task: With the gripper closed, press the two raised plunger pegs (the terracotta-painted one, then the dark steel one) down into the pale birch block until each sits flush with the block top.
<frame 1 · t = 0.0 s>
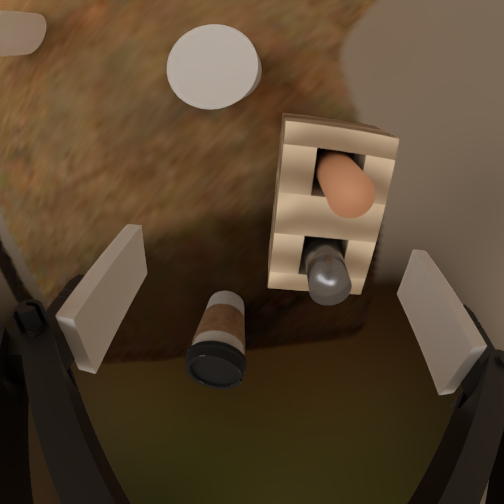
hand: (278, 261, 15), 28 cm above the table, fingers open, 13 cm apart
cup: (228, 70, 34), on the table
peg terracotta: (341, 179, 30), point 10 cm above the table, slide at 6.0 cm
peg steel: (324, 264, 35), point 11 cm above the table, slide at 6.0 cm
coffee cup: (226, 303, 53), on the table
cylindrical container: (31, 33, 30), on the table
birch block: (319, 190, 42), on the table
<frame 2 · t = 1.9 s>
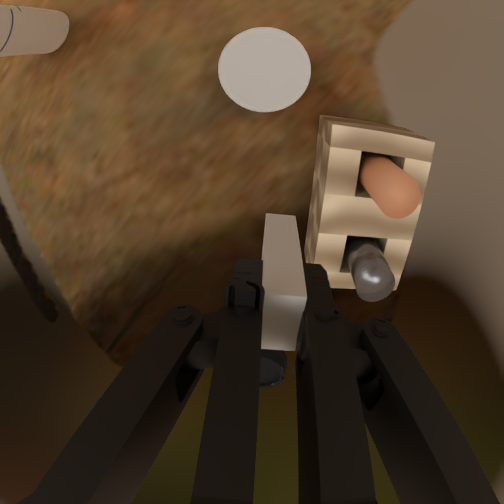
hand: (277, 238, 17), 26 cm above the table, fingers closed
cup: (266, 72, 35), on the table
peg terracotta: (384, 181, 30), point 11 cm above the table, slide at 6.0 cm
peg steel: (366, 262, 35), point 11 cm above the table, slide at 6.0 cm
coffee cup: (260, 303, 53), on the table
cylindrical container: (52, 32, 30), on the table
birch block: (354, 190, 42), on the table
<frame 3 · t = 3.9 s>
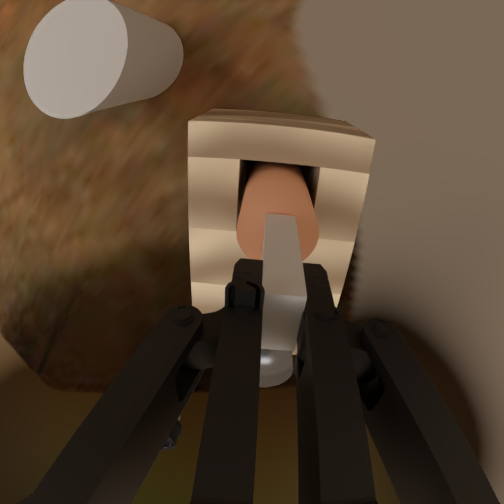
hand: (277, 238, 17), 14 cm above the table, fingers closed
cup: (142, 59, 24), on the table
peg terracotta: (276, 202, 21), point 9 cm above the table, slide at 4.9 cm, touching gripper
peg steel: (263, 325, 25), point 11 cm above the table, slide at 6.0 cm
birch block: (270, 213, 31), on the table
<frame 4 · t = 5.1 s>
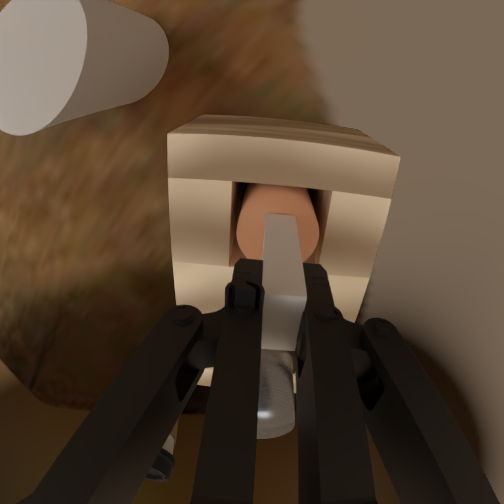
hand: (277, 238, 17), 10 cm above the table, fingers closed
cup: (122, 58, 20), on the table
peg terracotta: (276, 203, 21), point 5 cm above the table, slide at 0.5 cm, touching gripper
peg steel: (261, 369, 21), point 10 cm above the table, slide at 6.0 cm
coffee cup: (162, 368, 39), on the table
birch block: (270, 235, 27), on the table
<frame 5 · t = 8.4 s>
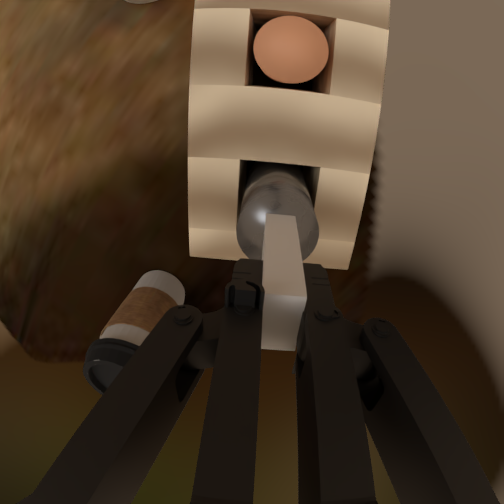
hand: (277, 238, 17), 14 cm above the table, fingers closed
peg terracotta: (287, 55, 19), point 5 cm above the table, slide at 0.5 cm
peg steel: (276, 202, 21), point 9 cm above the table, slide at 4.9 cm, touching gripper
coffee cup: (162, 289, 37), on the table
birch block: (279, 112, 26), on the table
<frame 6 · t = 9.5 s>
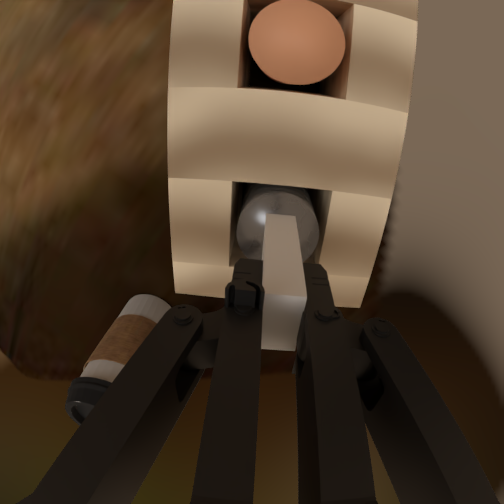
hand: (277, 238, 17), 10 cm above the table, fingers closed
peg terracotta: (291, 49, 16), point 5 cm above the table, slide at 0.5 cm
peg steel: (276, 203, 21), point 5 cm above the table, slide at 0.5 cm, touching gripper
coffee cup: (151, 313, 33), on the table
birch block: (281, 119, 22), on the table
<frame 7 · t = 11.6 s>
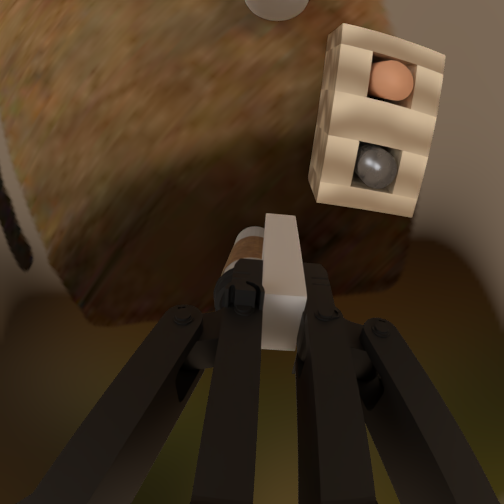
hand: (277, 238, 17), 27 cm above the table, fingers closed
peg terracotta: (380, 80, 30), point 5 cm above the table, slide at 0.5 cm
peg steel: (366, 159, 35), point 5 cm above the table, slide at 0.5 cm
coffee cup: (255, 243, 47), on the table
birch block: (362, 115, 37), on the table
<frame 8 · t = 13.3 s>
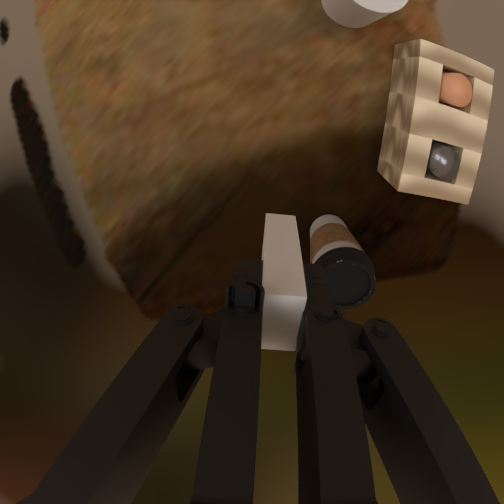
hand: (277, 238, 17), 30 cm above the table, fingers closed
cup: (349, 3, 32), on the table
peg terracotta: (442, 87, 32), point 5 cm above the table, slide at 0.5 cm
peg steel: (431, 154, 37), point 5 cm above the table, slide at 0.5 cm
coffee cup: (327, 230, 50), on the table
birch block: (422, 116, 39), on the table
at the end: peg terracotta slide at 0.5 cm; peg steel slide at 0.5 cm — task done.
